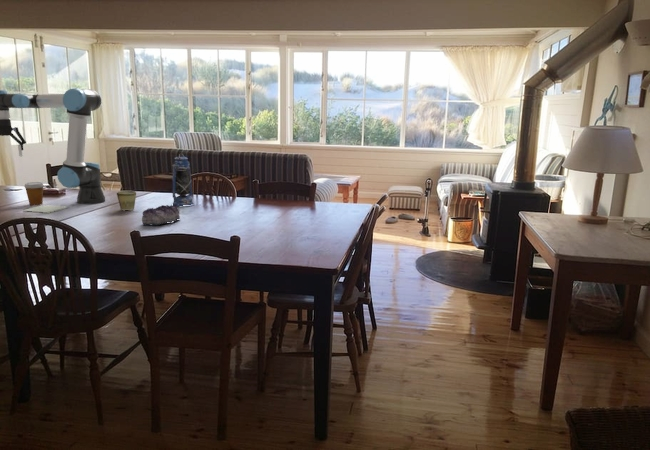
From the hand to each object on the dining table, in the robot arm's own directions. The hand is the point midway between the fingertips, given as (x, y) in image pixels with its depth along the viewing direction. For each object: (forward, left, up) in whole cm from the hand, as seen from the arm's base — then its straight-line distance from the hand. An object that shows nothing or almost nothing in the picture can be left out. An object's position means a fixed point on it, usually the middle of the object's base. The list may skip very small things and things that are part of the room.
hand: (7, 157), depth 281 cm
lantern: (-95, -24, -26) cm, 101 cm away
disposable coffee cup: (-19, +3, -26) cm, 32 cm away
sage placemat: (-34, +13, -25) cm, 44 cm away
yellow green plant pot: (-74, -2, -26) cm, 78 cm away
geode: (-107, +21, -26) cm, 112 cm away
